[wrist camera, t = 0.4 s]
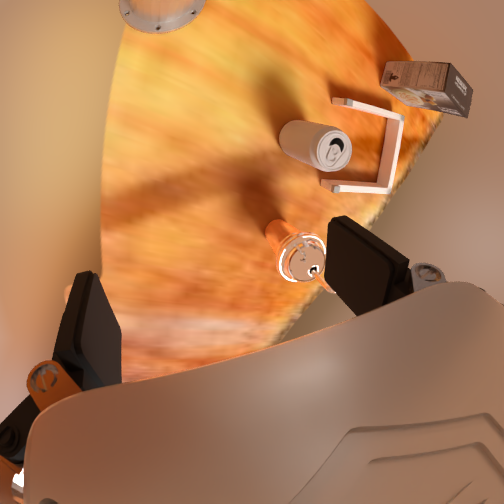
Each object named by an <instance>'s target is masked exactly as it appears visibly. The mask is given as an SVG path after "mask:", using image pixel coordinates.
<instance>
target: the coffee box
mask: <svg viewBox="0 0 504 504" xmlns="http://www.w3.org/2000/svg"><path fill="white" fill-rule="evenodd" d="M380 86H381V87H382V88H383V89H385V90H386V91H388V92H389V93H390V94H392V95H393V96H395V97H396V98H397V99H399V100H400V101H401V102H403V103H404V104H405V105H407V106H412V107H418V108H424V109H429V110H434V111H439V112H444V113H449V114H453V115H457V116H461V117H465V118H468V114H469V110H470V105H471V98H472V94H473V89H472V88H471V87H470V85H469V84H468V83H467V82H466V80H465V79H464V78H463V77H462V76H461V74H460V73H459V72H458V71H457V70H456V69H455V67H454V66H453V65H452V64H451V63H443V62H425V61H387V62H386V66H385V69H384V73H383V77H382V80H381V84H380Z"/></svg>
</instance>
